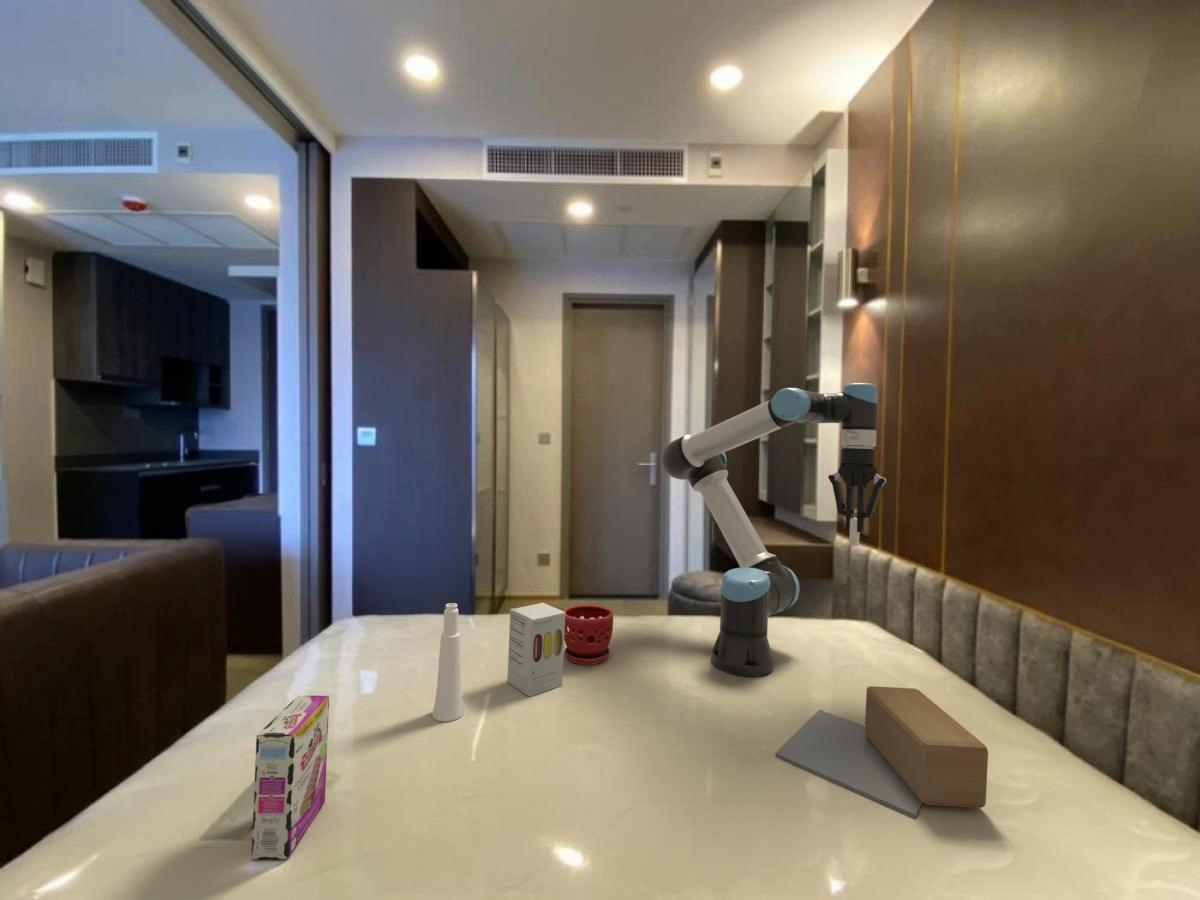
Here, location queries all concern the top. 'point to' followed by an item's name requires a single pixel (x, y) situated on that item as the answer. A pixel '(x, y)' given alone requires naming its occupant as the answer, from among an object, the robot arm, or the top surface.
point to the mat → (848, 761)
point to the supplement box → (536, 648)
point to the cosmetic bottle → (449, 670)
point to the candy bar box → (289, 777)
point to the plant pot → (588, 634)
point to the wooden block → (927, 747)
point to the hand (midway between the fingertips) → (854, 544)
